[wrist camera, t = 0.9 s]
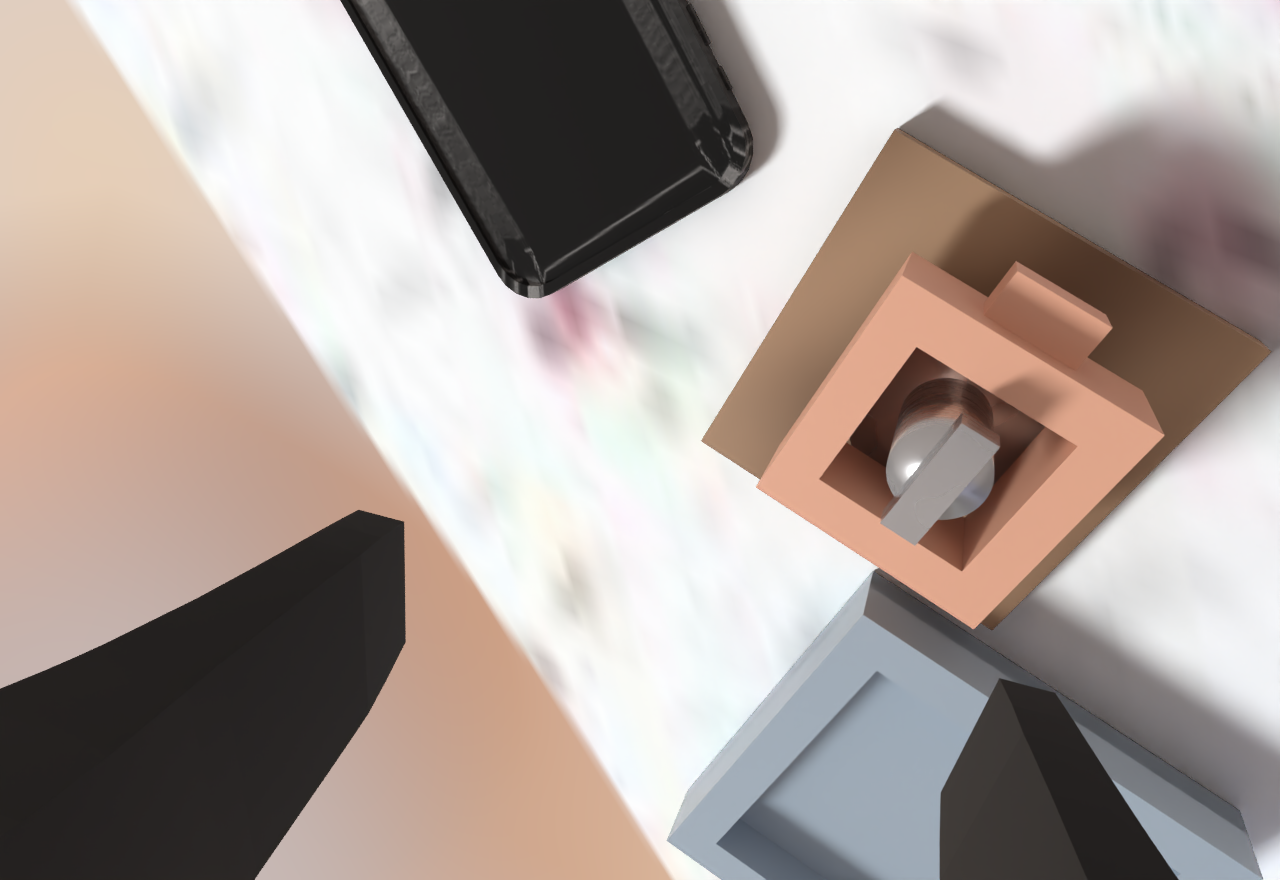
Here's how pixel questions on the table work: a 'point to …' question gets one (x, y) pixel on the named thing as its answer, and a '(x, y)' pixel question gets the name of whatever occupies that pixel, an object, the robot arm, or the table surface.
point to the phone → (562, 121)
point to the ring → (1011, 370)
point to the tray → (904, 760)
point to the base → (980, 257)
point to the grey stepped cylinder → (939, 444)
